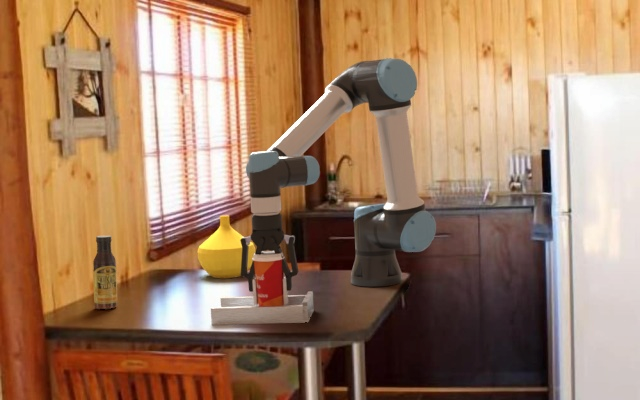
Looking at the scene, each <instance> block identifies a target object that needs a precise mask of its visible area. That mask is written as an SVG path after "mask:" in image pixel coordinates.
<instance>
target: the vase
mask: <svg viewBox="0 0 640 400" xmlns="http://www.w3.org/2000/svg"><path fill="white" fill-rule="evenodd" d="M243 237H244V236H243V235H242V234H241V233H239V232H238V231H237V230H235V229H234V228H233V227H232V226H231V224H230V215H228V214H227V215H226V214H225V215H219V227H218V228H217V230H216V231H215V232H214V233H212V234H211V235H210V236H209V237H208V238H207V239H206V240H204V241H203V242H202V243H201V244H200V245H199V246H198V249H197V259H198V261H199V264H200V265H201V267H202V269H203V270H204V271H205V272H206V274H207V275H209V276H210V277H212V278H215V279H232V278H238V277H241V261H242V245H241V241H240V240H241V239H242V238H243ZM248 246H249V249H248V265H247V272H249V271H250V268H251V265H252V262H253V260H252V258H253V255H254V253H255V252H256V247H255V246H256V245H255V244H254V242H253V241H250V244H249V245H248Z"/></svg>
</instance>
